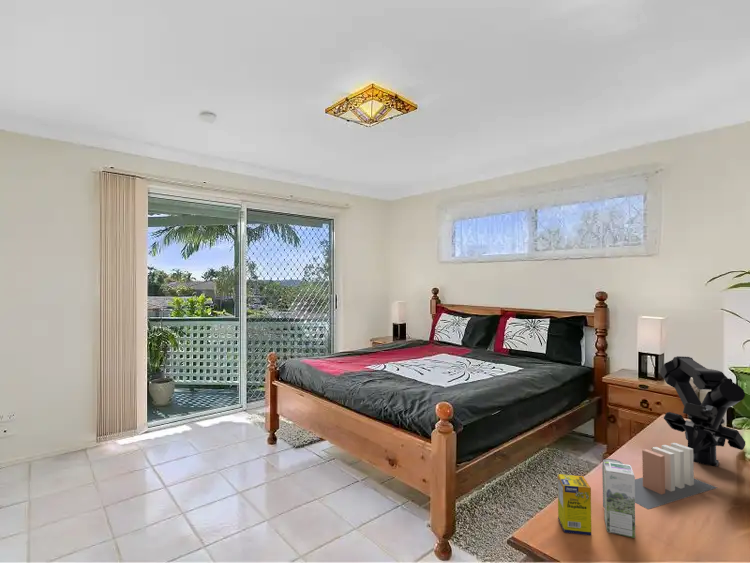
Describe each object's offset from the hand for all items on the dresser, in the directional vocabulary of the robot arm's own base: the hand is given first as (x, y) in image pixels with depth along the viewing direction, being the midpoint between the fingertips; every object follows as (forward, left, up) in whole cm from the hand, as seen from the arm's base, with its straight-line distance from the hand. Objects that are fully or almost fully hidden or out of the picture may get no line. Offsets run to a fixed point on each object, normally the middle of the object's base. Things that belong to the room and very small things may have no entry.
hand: (689, 453), depth 117 cm
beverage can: (+31, -12, -8) cm, 34 cm away
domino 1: (+10, -5, -7) cm, 13 cm away
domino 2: (+6, -3, -7) cm, 10 cm away
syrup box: (+39, -9, -8) cm, 41 cm away
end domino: (+14, -7, -7) cm, 17 cm away
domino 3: (+3, -2, -7) cm, 8 cm away
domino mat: (+11, -5, -8) cm, 14 cm away
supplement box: (+45, -17, -8) cm, 49 cm away
